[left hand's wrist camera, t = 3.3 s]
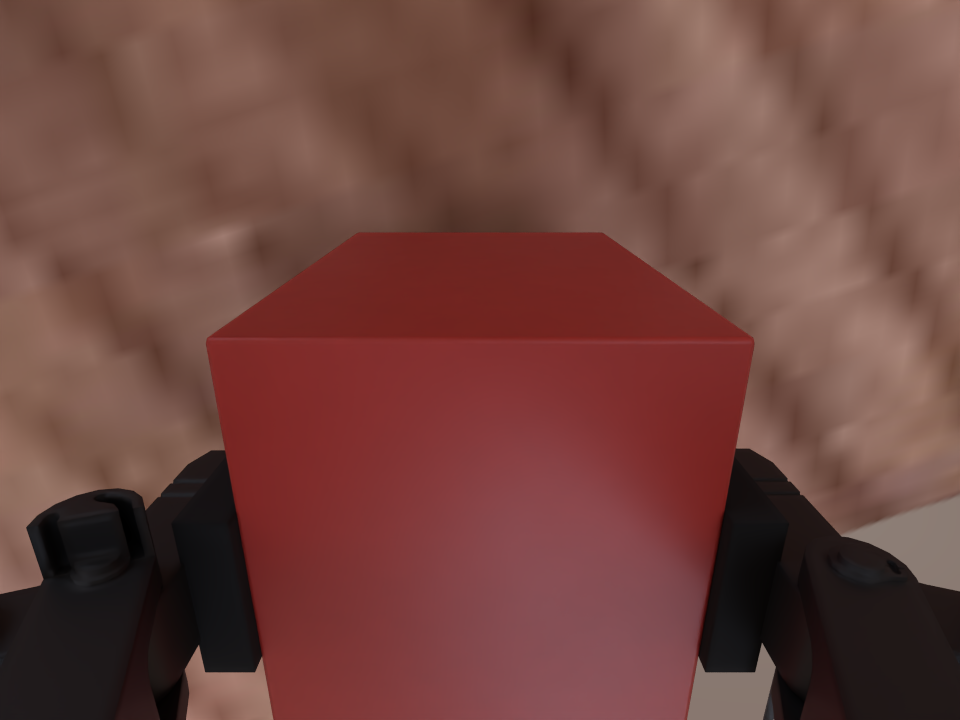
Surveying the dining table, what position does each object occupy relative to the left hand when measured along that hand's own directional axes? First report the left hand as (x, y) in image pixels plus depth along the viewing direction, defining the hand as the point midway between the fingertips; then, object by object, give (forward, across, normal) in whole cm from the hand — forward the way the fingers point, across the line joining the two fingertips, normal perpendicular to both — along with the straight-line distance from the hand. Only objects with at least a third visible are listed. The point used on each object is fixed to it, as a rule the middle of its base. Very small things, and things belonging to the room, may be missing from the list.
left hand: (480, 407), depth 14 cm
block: (+3, 0, 0) cm, 3 cm away
